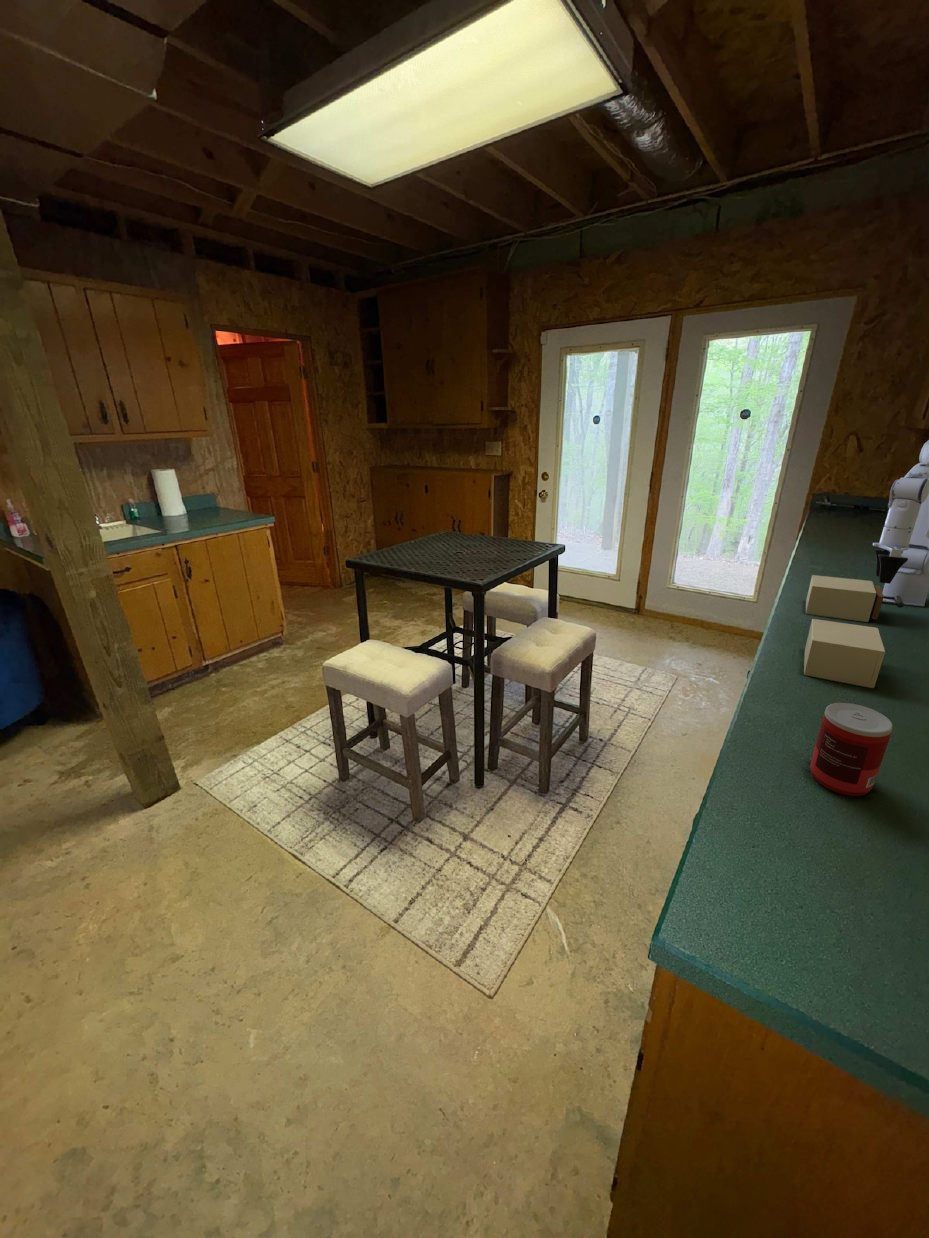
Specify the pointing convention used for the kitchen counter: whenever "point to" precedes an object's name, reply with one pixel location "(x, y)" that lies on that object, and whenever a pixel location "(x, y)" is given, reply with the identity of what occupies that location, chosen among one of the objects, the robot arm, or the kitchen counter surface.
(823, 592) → the cardboard box
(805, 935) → the kitchen counter surface
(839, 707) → the canned food
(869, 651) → the cardboard box
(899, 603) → the drawer
